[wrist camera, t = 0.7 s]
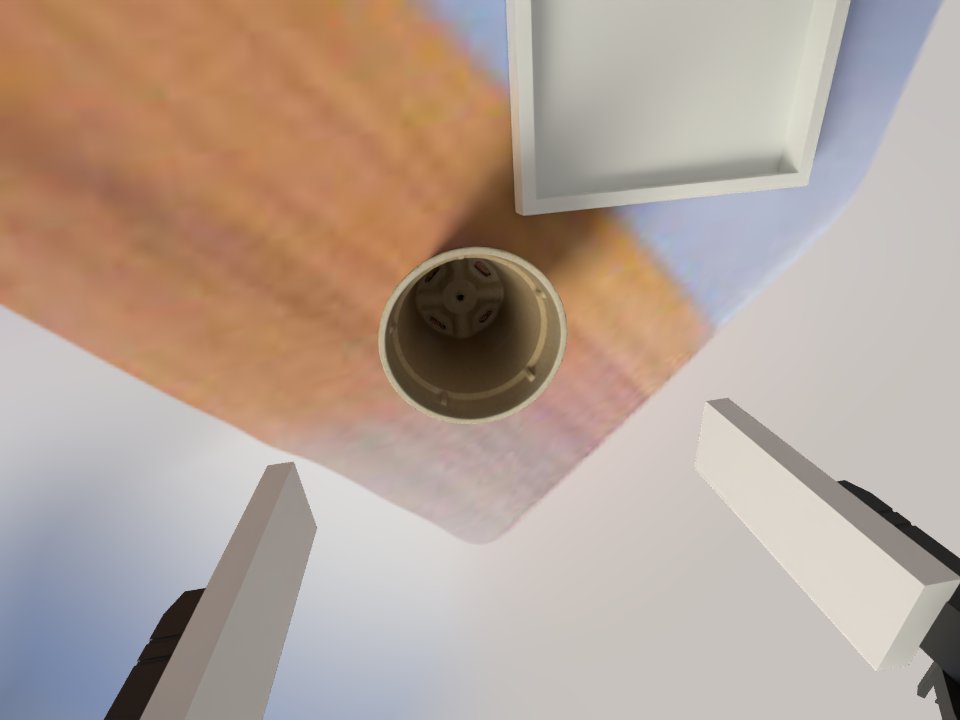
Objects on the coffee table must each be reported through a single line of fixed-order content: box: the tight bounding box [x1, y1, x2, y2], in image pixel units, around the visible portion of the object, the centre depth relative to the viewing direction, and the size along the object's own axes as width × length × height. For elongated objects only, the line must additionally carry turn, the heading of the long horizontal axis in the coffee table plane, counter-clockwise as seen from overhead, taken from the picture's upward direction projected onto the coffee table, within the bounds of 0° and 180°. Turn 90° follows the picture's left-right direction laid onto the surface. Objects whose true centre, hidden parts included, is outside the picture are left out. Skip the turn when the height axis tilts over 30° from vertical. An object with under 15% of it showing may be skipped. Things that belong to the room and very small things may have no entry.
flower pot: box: [378, 247, 567, 424], centre depth 25 cm, size 9×9×9 cm
